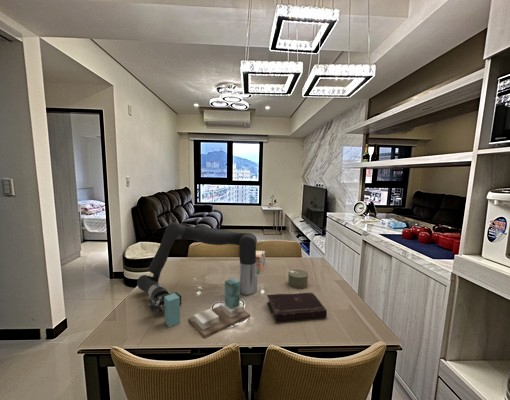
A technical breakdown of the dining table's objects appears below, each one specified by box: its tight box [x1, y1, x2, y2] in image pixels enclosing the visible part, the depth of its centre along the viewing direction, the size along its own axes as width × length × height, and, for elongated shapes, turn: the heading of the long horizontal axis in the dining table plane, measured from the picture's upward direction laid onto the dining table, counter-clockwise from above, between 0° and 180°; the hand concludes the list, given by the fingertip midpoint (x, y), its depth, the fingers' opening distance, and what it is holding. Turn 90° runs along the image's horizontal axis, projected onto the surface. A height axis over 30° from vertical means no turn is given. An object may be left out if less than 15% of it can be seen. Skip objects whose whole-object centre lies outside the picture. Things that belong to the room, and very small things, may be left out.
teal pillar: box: [163, 292, 181, 328], centre depth 111 cm, size 5×5×12 cm
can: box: [287, 269, 309, 289], centre depth 152 cm, size 12×12×7 cm
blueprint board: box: [187, 277, 251, 339], centre depth 114 cm, size 24×15×16 cm, turn 131°
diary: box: [266, 292, 328, 324], centre depth 124 cm, size 19×25×5 cm
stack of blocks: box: [256, 250, 266, 275], centre depth 177 cm, size 21×6×12 cm, turn 169°
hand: (171, 307), depth 112 cm, fingers open, 8 cm apart
